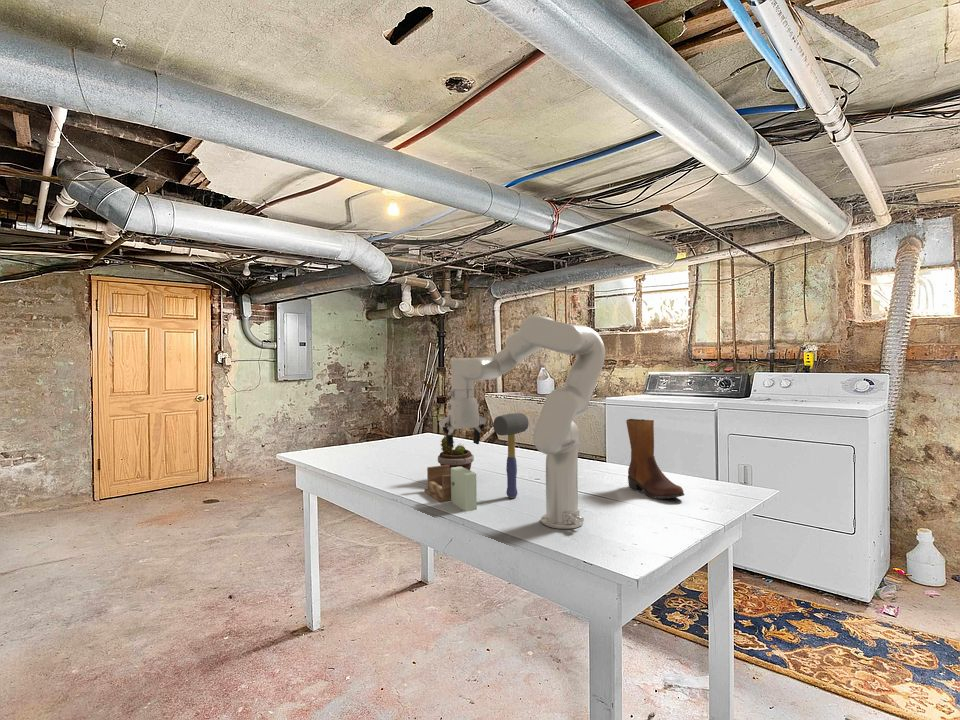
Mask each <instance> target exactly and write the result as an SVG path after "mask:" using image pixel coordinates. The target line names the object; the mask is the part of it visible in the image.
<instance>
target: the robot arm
mask: <svg viewBox="0 0 960 720" xmlns="http://www.w3.org/2000/svg"><path fill="white" fill-rule="evenodd" d="M505 339H506V340H505V347H504V348H503V349H501V350H500V351H498V352H497V353H495V354H493V355H492V356H490V357H489V356H488V357H487V356H486V357H484V356H483V357H474V358H473V357H472V358H467V357H465V358H462V357H460V358H458V357H457V358H454V359H452V360H451V367H450V368H451V389H450V390H451V391H448V392H447V396H448V397H451V398H450V399H449V403H448V409H447V410H448V411H447V412H448V413H447V416H446V417H445V418H443V419H442V420H440V421H439V422H438V425H439V426H440V429H441V430H442V432H443V433H445V434H444V435H446V438H447V444H448V446H450V447H453V448H454V446H453V445H454V443H453V442H454V441H453V440H454V435H453V432H454V431H455V430H465V429H472V430H474V431H473V432H472V434H473V436H472V437H473V440H472V441H473V443H474V444H476V445H479V444H480V441H481V435H480V433H481V432H482V430H483V429H484V428H485V426H486V423H487V418H485V417H484V416H482V415H480V412H479V405H478V399H477V398H475V381H476V382H477V381H479V382H480V381H486V380H487V381H488V380H494V379H497V378H499V377H501V376H503V375H505V374H506V373H508V372H509V371H511V370H513V369H515V368H516V367H517V365H519V364H520V363H521V362H522V361H523V360H524V359H526V358H527V357H529V356H531V355H532V354H534V353H536V352H538V351H539V350H542V349H545V350H549V351H553V352H557V353H560V354H566V355H576V358H575V360H574V362H573V363H572V365H571V367H570V369H569V371H568V374H567V378H566V379H565V382H564V383H563V386H559V387H557V388H555V389H553V390H552V391H550V393H549V394H548V395H547V396H546V398H545V400H544V403H543V404H542V408H541V411H540V413H539V415H538V416H539V417H538V419H537V422H536V424H535V428H534V431H533V435H532V439H533V444H534V446H535V449H537V451H538V452H540V453H542V454H543V455H546V457H545V510H546V511H545V512H546V513H545V514H543V515H542V516H541V517H540V520H541V523H542V524H543V525H545V526H546V527H549V528H553V529H558V530H559V529H560V530H561V529H563V530H568V529H576V528H579V527H582V526H583V524H584V521H585V519H584V517H583V516H581V513H580V509H579V490H578V489H579V487H578V478H579V477H578V476H579V475H578V474H579V473H578V472H579V471H578V468H579V467H578V465H579V463H578V461H579V458H578V456H579V449H580V448H579V447H580V430H579V427H578V426H577V424H576V422H574V419H575V418H578V417H580V416H582V415H584V414H585V412H587V409H588V406H589V404H590V401H591V399H592V396H593V394H594V391H595V388H596V385H597V382H598V379H599V377H600V375H601V372H602V370H603V368H604V367H603V366H604V363H605V359H606V348H605V344H604V341H603V339H602V338H601V336H600V335H599V333H598V332H597V331H595V330H594V329H593V328H591V327H589V326H586V325H582V324H572V323H566V322H563V321H557V320H554V319H553V318H551V317H550V316H549V317H548V316H544V315H537V314H536V315H533V314H532V315H530V316H528V317H526V318H524V319H523V321H522V322H521V323H520V325H519V330H517V331H515V332H514V333H513V334H511V335H509V336H508V337H507V338H505ZM446 423H447V426H448V427H446Z"/></svg>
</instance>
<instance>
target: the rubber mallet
mask: <svg viewBox="0 0 960 720" xmlns="http://www.w3.org/2000/svg"><path fill="white" fill-rule="evenodd" d="M492 423H493V424H492V425H493V426H492V427H493V431H494V432H495V434H496V435H497V436H501V437H502V436H507V458H506V476H507V477H506V478H507V482H506V485H507V487H506V496H507V497H508V498H509V499H516V498H517V496H518V489H517V473H518V468H517V467H518V465H517V459H516V442H515V441H516V440H515V439H516V438H515V435H517V434H520V433H525V432H526V431H527V429H528V428H529V424H530V423H529V419H528V417H527V416H526V414H524V413H522V412H520V413H519V412H517V413H516V412H515V413H507V414H502V415H499V416H497V417H495V418H494V420H493V422H492Z"/></svg>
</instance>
